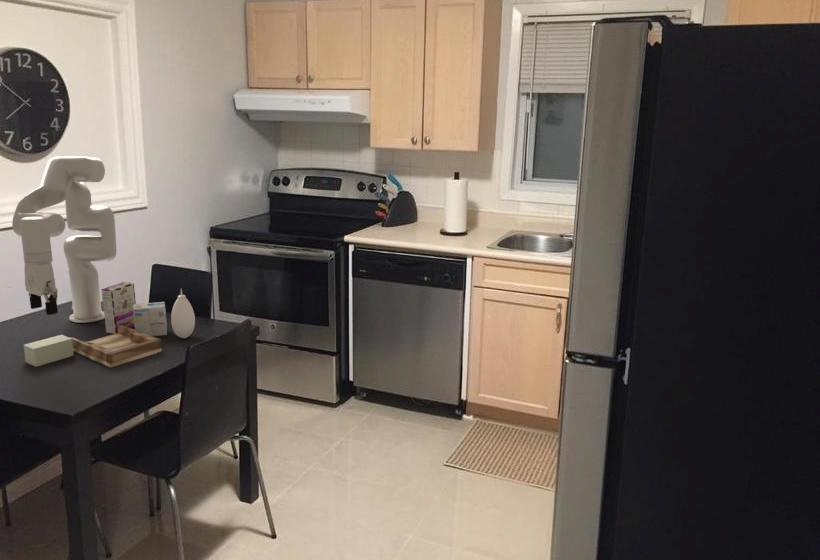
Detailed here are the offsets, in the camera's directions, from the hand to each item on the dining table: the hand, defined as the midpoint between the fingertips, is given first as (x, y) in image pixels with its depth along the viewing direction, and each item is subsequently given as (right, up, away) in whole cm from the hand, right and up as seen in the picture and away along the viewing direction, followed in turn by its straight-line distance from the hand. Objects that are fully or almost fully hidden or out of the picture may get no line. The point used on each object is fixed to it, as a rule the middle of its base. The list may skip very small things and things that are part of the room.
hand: (44, 310), depth 204 cm
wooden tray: (+17, -14, +13) cm, 25 cm away
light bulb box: (+22, -10, +29) cm, 38 cm away
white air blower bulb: (+34, -11, +27) cm, 45 cm away
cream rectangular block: (-1, -16, +4) cm, 16 cm away
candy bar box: (+10, -8, +33) cm, 35 cm away
